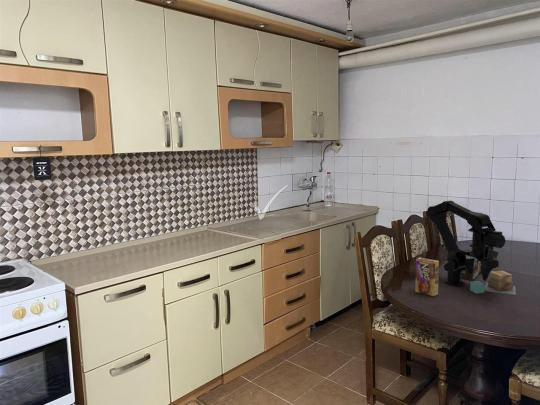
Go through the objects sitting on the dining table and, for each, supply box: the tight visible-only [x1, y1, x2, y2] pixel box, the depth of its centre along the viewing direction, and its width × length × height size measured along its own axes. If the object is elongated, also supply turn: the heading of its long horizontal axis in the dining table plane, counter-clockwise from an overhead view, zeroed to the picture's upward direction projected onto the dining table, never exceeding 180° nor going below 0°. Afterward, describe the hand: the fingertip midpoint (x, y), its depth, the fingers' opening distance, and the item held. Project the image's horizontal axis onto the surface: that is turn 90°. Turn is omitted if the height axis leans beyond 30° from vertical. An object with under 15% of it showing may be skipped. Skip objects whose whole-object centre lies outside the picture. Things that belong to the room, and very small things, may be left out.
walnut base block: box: [487, 278, 514, 291], centre depth 183 cm, size 7×7×4 cm
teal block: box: [469, 280, 486, 294], centre depth 181 cm, size 4×4×4 cm
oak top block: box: [489, 270, 513, 283], centre depth 183 cm, size 6×6×4 cm
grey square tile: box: [484, 281, 517, 296], centre depth 184 cm, size 12×12×1 cm
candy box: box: [414, 257, 440, 297], centre depth 181 cm, size 9×4×15 cm, turn 45°
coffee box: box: [462, 260, 482, 281], centre depth 203 cm, size 9×6×16 cm
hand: (477, 277), depth 181 cm, fingers open, 9 cm apart
